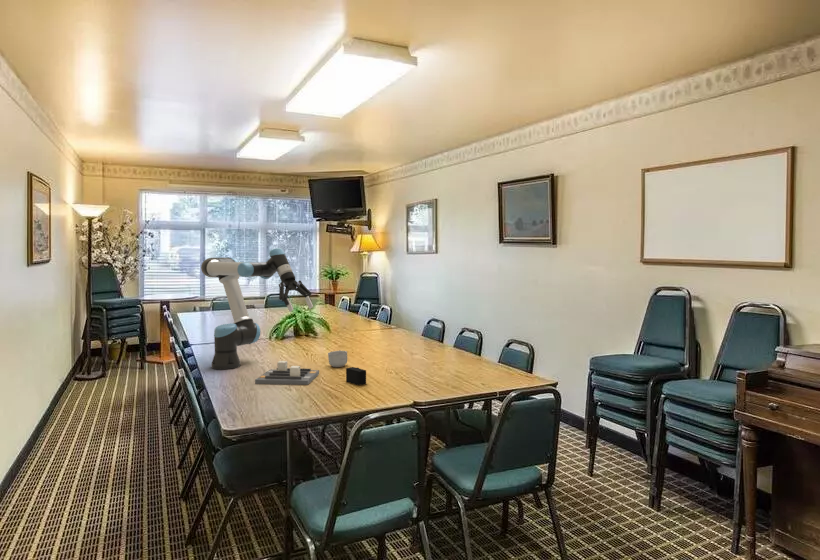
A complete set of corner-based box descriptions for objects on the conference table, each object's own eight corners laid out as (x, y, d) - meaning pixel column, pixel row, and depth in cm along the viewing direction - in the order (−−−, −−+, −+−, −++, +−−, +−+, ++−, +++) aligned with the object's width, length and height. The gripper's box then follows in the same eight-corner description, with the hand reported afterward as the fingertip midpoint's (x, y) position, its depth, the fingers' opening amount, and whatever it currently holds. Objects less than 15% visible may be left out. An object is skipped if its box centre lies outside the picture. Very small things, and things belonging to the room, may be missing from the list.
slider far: (277, 372, 260) (277, 362, 260) (279, 370, 264) (279, 360, 264) (285, 372, 260) (284, 362, 260) (287, 370, 264) (287, 361, 264)
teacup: (343, 368, 279) (343, 354, 278) (325, 367, 281) (325, 353, 280) (351, 363, 292) (351, 349, 292) (333, 362, 294) (333, 348, 294)
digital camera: (368, 383, 247) (368, 369, 246) (359, 385, 243) (359, 371, 242) (354, 380, 254) (354, 366, 254) (346, 382, 250) (346, 368, 250)
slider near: (289, 377, 249) (289, 367, 248) (292, 375, 253) (292, 365, 252) (297, 377, 248) (297, 367, 248) (300, 375, 252) (300, 366, 252)
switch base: (255, 383, 246) (255, 377, 246) (270, 373, 268) (270, 367, 268) (307, 384, 244) (307, 378, 244) (319, 374, 266) (319, 368, 266)
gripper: (270, 272, 259) (286, 308, 254) (307, 269, 279) (323, 303, 274) (263, 279, 263) (278, 315, 258) (300, 276, 283) (315, 309, 278)
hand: (301, 309), depth 266 cm, fingers open, 13 cm apart
